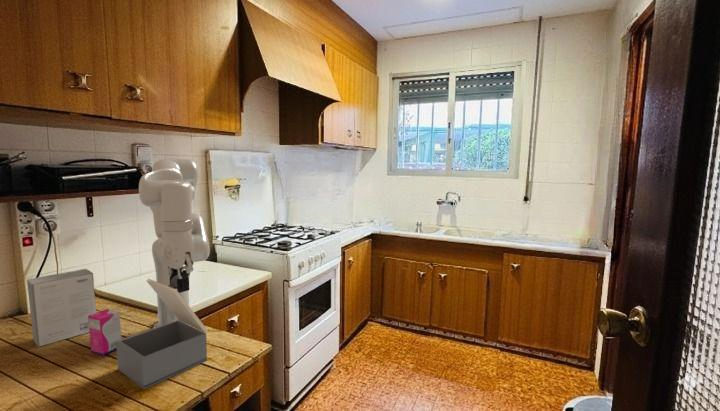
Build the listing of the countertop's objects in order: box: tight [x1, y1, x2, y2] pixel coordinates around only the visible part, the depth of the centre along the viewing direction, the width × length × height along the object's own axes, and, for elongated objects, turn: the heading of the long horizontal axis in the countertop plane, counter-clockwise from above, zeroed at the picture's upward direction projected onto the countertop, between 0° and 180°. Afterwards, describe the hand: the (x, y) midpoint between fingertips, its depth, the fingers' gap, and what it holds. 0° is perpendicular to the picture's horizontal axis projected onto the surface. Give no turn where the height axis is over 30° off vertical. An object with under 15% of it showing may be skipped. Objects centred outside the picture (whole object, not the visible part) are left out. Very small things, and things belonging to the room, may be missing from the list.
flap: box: [145, 275, 209, 334], centre depth 105 cm, size 15×17×6 cm
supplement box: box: [88, 308, 122, 357], centre depth 108 cm, size 6×6×12 cm
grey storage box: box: [116, 320, 208, 390], centre depth 100 cm, size 15×17×8 cm
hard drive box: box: [26, 268, 97, 348], centre depth 117 cm, size 16×8×20 cm, turn 141°
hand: (179, 289), depth 103 cm, fingers closed on flap, 3 cm apart
